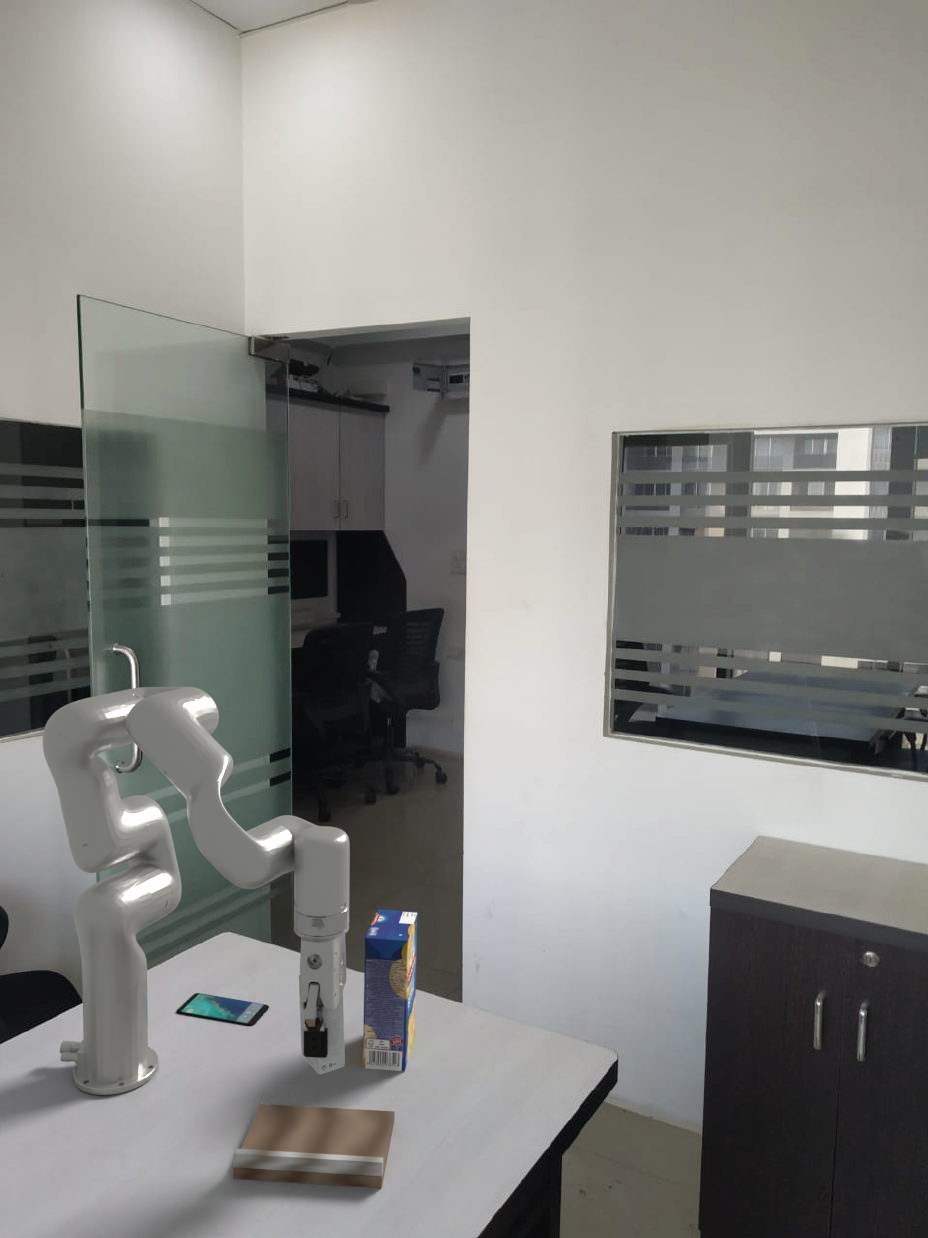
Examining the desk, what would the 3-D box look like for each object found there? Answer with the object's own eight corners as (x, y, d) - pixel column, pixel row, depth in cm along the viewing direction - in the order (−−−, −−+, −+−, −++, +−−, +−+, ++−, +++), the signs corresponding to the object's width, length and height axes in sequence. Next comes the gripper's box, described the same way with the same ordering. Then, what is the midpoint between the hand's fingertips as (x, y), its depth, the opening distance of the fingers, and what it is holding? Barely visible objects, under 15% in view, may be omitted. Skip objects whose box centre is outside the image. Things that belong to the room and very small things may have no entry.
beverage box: (414, 1034, 164) (417, 912, 162) (404, 1072, 153) (407, 941, 151) (375, 1031, 165) (377, 909, 162) (362, 1068, 154) (364, 938, 151)
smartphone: (252, 1025, 165) (174, 1011, 169) (252, 1029, 165) (174, 1015, 169) (270, 1004, 172) (195, 991, 176) (270, 1008, 172) (195, 995, 176)
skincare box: (346, 1067, 133) (346, 984, 131) (316, 1077, 130) (316, 992, 129) (326, 1046, 138) (327, 965, 136) (297, 1055, 135) (298, 973, 134)
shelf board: (233, 1179, 128) (233, 1154, 128) (260, 1113, 142) (260, 1091, 142) (381, 1188, 127) (382, 1163, 127) (394, 1121, 141) (394, 1098, 141)
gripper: (337, 948, 123) (336, 1078, 125) (358, 894, 140) (358, 1009, 142) (279, 946, 123) (279, 1075, 125) (308, 892, 141) (307, 1007, 143)
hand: (321, 1039), depth 134 cm, fingers closed on skincare box, 7 cm apart
